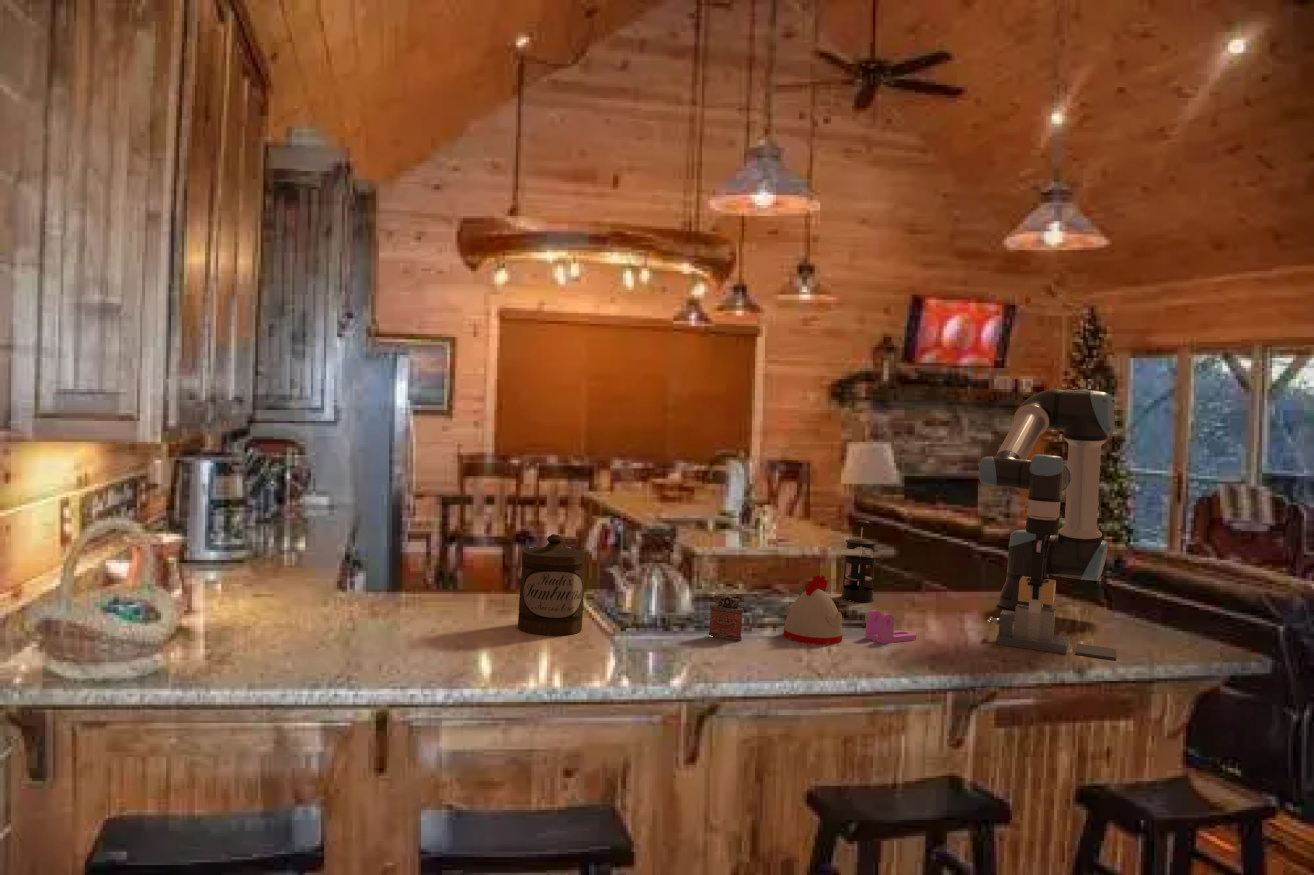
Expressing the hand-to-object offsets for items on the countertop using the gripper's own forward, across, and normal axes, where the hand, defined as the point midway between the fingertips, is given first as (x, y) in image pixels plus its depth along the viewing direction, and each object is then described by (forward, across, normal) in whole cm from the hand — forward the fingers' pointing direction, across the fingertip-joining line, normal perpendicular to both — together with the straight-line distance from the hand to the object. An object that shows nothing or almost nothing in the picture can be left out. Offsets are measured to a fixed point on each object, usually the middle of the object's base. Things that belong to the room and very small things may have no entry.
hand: (1035, 609), depth 269 cm
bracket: (+9, +17, -31) cm, 37 cm away
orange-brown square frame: (-2, 0, 0) cm, 2 cm away
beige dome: (+9, +29, -48) cm, 57 cm away
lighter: (+9, +44, -65) cm, 79 cm away
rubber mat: (+9, 0, +14) cm, 17 cm away
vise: (+9, 0, -1) cm, 9 cm away
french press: (+9, -31, -51) cm, 60 cm away
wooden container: (+9, +61, -102) cm, 119 cm away
